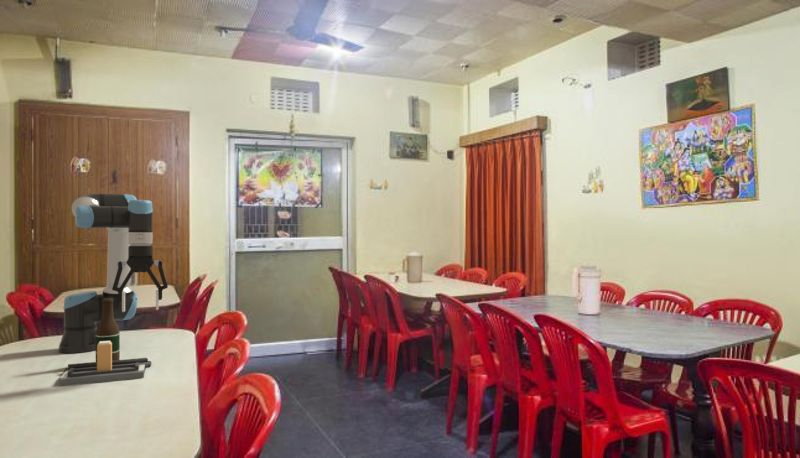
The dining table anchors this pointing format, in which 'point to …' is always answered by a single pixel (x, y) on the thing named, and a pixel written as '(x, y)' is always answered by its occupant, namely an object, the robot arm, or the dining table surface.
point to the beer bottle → (108, 329)
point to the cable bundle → (114, 363)
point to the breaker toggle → (104, 356)
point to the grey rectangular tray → (102, 374)
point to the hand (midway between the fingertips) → (140, 310)
